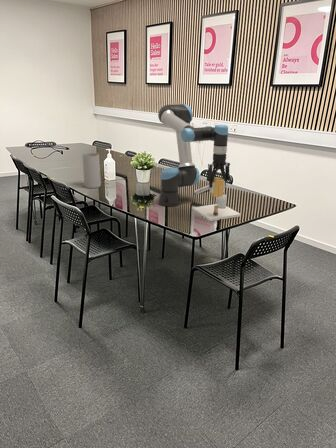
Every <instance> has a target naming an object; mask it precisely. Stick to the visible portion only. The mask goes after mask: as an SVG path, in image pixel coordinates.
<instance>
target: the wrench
mask: <svg viewBox="0 0 336 448" xmlns="http://www.w3.org/2000/svg"><path fill="white" fill-rule="evenodd" d="M209 190H210V187H209V184H208V185H205V186H203V187H201V188H198V189H195V190H194V191H193V194H194V195H199V194H201V193H203V192H206V191H209Z"/></svg>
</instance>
